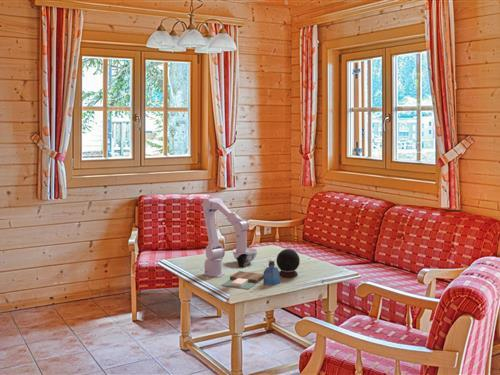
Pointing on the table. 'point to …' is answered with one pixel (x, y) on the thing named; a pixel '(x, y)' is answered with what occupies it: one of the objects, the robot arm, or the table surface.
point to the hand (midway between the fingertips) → (241, 267)
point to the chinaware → (249, 255)
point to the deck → (248, 276)
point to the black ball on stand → (288, 263)
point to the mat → (246, 286)
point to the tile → (239, 282)
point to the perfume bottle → (271, 274)
